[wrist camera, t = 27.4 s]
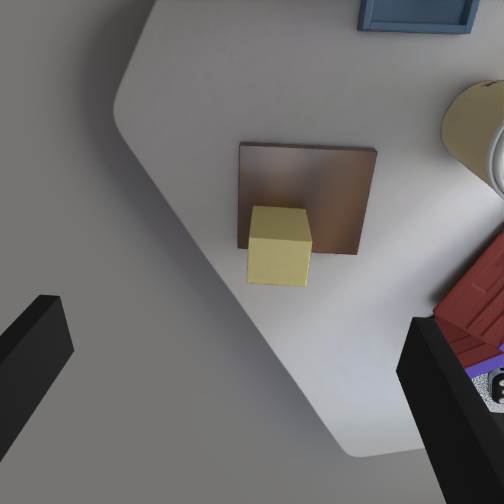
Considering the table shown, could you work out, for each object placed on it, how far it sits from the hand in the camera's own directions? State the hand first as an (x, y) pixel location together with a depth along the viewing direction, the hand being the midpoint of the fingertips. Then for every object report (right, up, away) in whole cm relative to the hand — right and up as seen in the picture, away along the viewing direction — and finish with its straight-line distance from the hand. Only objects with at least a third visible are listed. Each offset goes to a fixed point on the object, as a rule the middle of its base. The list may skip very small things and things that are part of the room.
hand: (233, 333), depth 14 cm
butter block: (+4, +6, +28) cm, 28 cm away
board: (+6, +9, +27) cm, 30 cm away
